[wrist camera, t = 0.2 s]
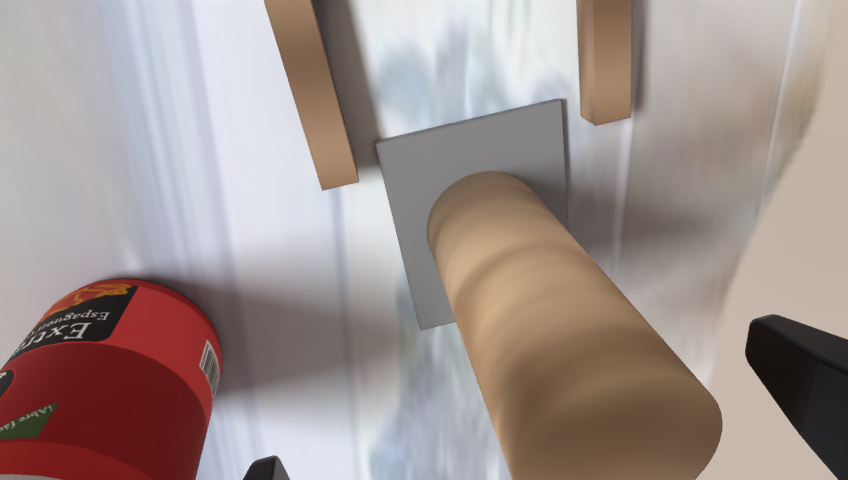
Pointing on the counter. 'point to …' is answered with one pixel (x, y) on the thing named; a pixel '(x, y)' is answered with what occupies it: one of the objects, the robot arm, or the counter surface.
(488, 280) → the pepper mill
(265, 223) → the counter surface
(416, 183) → the slate mat
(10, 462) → the canned food
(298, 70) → the walnut frame
